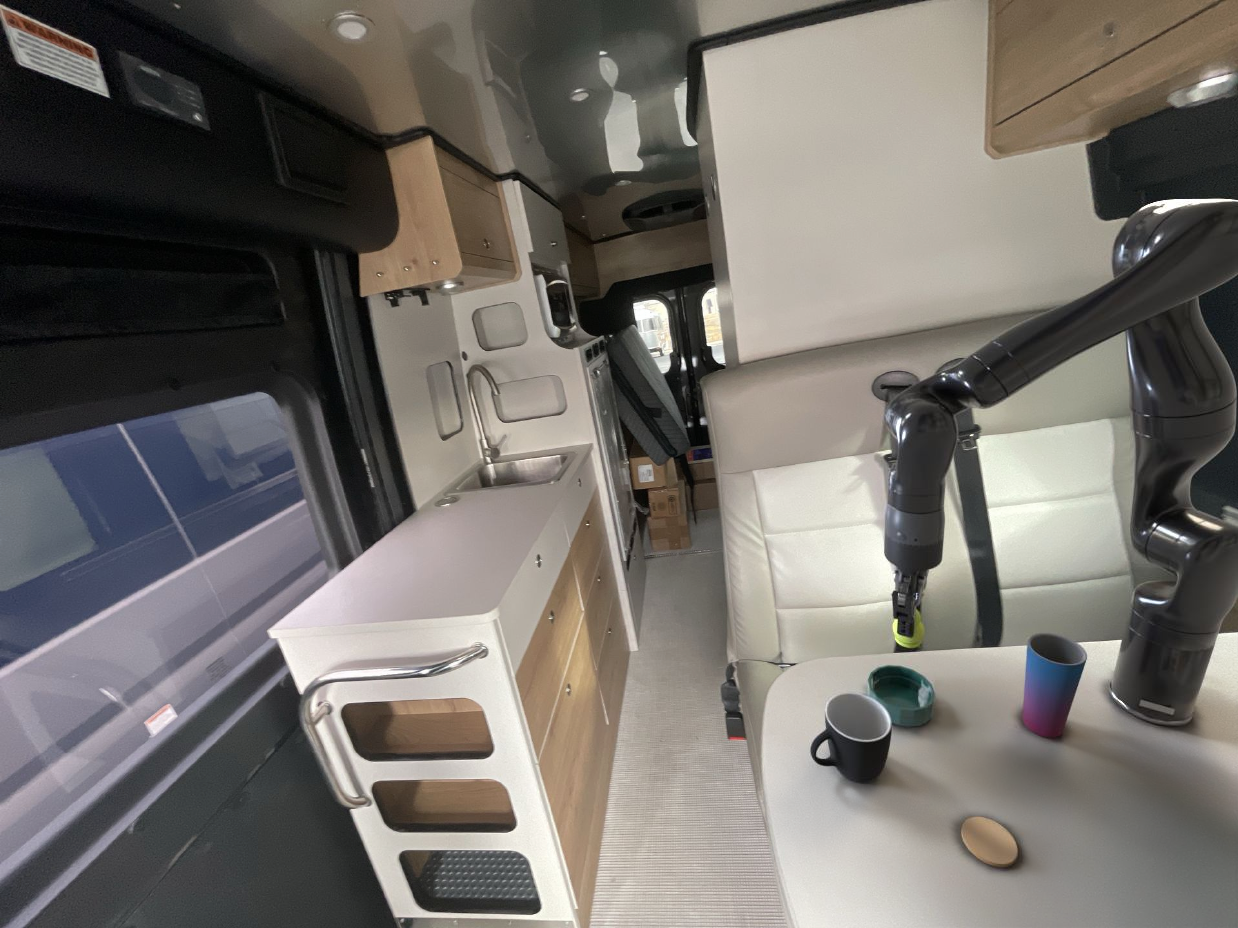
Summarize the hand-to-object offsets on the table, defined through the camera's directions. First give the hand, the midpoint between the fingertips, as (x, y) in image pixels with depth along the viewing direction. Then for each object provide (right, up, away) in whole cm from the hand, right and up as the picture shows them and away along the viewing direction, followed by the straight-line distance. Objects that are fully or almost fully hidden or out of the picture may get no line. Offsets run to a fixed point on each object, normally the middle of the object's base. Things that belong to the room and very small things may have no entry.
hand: (908, 625), depth 83 cm
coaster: (+3, -24, -14) cm, 28 cm away
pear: (0, -3, +1) cm, 3 cm away
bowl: (+3, -16, +8) cm, 18 cm away
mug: (-10, -22, -1) cm, 24 cm away
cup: (+21, -16, 0) cm, 26 cm away
